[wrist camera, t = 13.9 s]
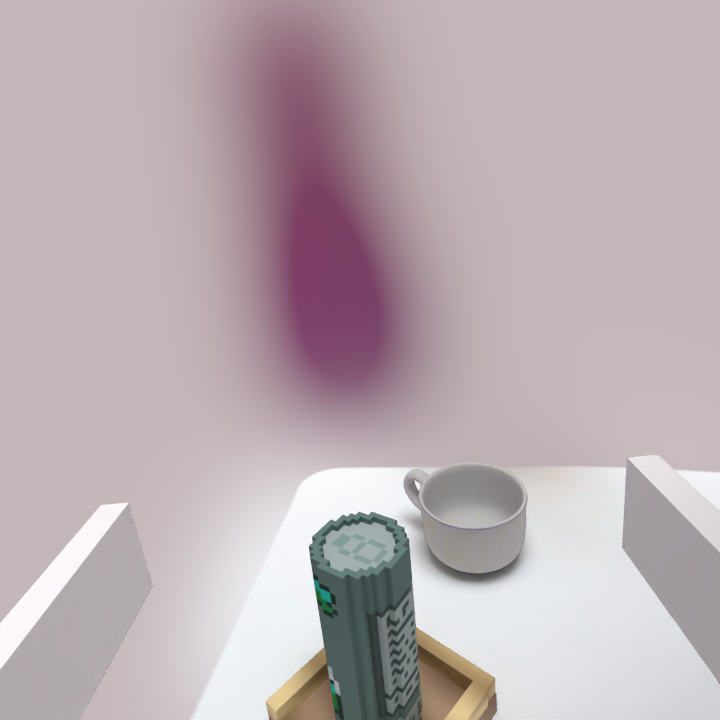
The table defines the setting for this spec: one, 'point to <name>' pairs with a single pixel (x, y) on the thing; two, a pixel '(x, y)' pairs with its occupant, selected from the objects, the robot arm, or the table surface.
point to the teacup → (471, 514)
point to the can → (367, 617)
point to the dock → (437, 681)
